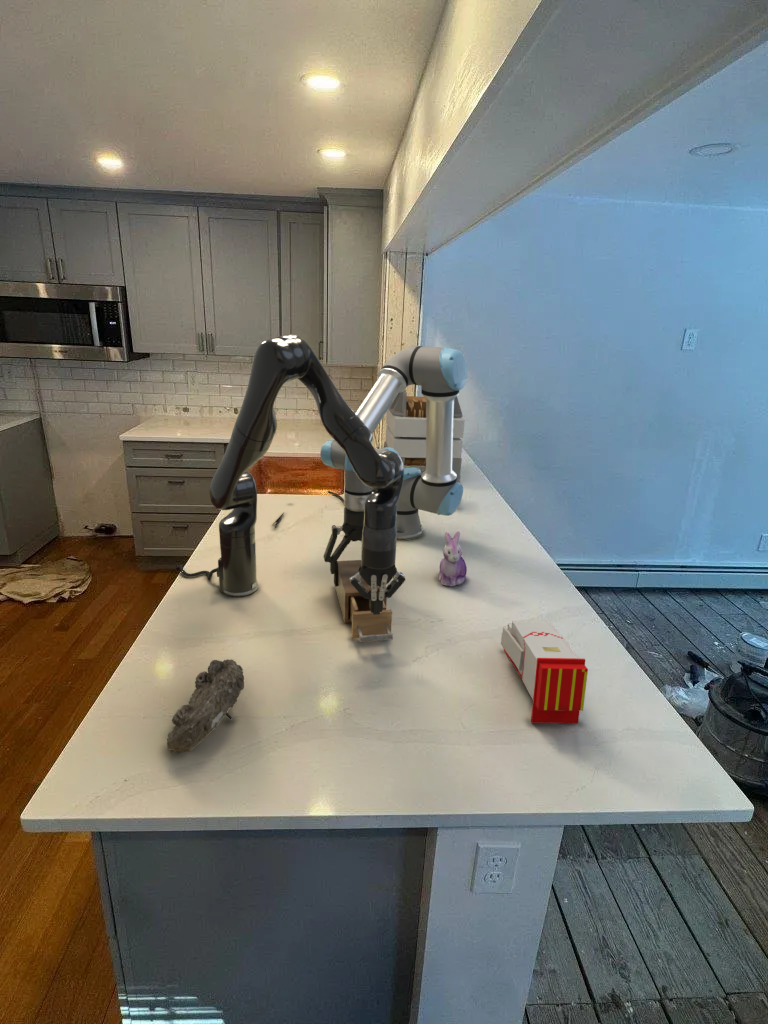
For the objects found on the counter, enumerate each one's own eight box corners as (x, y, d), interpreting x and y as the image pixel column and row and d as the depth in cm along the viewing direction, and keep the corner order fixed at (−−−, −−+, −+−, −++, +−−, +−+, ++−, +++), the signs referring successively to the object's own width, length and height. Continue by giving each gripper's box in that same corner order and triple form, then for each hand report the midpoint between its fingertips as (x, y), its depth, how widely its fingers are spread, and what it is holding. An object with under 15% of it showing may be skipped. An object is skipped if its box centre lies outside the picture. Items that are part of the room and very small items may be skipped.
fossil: (192, 660, 117) (244, 628, 112) (224, 691, 120) (276, 661, 115) (142, 746, 98) (202, 712, 93) (182, 779, 101) (242, 748, 96)
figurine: (448, 590, 161) (452, 541, 156) (429, 575, 169) (432, 528, 164) (475, 584, 165) (480, 536, 160) (455, 570, 173) (459, 524, 168)
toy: (547, 606, 135) (596, 665, 106) (541, 658, 138) (589, 729, 108) (496, 604, 134) (532, 664, 105) (492, 657, 137) (526, 729, 108)
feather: (291, 507, 225) (293, 503, 224) (273, 530, 198) (276, 526, 198) (287, 504, 224) (289, 500, 224) (269, 528, 198) (272, 523, 197)
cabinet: (385, 619, 144) (387, 590, 142) (344, 622, 142) (345, 593, 139) (371, 585, 162) (373, 559, 159) (335, 588, 160) (335, 561, 157)
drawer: (396, 648, 131) (397, 624, 129) (356, 651, 129) (356, 627, 127) (376, 599, 152) (377, 578, 150) (342, 602, 150) (342, 580, 148)
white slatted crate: (382, 463, 289) (386, 382, 275) (445, 464, 293) (451, 384, 279) (390, 482, 257) (394, 392, 243) (460, 483, 261) (468, 394, 247)
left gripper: (351, 551, 118) (349, 623, 124) (412, 548, 121) (407, 619, 127) (346, 537, 125) (344, 606, 131) (404, 535, 128) (400, 603, 134)
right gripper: (315, 513, 142) (315, 591, 150) (404, 510, 147) (400, 586, 155) (312, 503, 149) (312, 579, 157) (398, 501, 154) (394, 574, 162)
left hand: (375, 612), depth 129 cm, fingers closed
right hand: (356, 582), depth 156 cm, fingers closed on cabinet, 11 cm apart
